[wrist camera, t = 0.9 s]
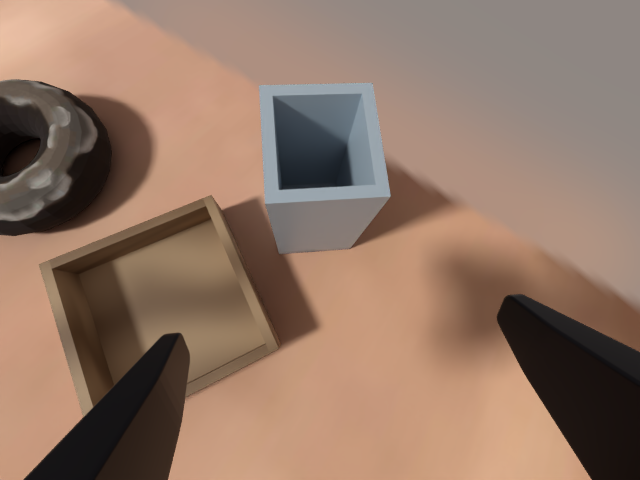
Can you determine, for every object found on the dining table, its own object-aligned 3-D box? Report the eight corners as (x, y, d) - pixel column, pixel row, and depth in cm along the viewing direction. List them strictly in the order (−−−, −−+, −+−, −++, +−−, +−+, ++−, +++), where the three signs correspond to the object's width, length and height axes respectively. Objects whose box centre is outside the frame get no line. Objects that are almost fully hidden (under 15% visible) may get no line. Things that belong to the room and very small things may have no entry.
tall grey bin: (349, 248, 23) (390, 196, 13) (279, 254, 23) (265, 203, 13) (341, 178, 25) (372, 82, 15) (274, 182, 24) (259, 85, 14)
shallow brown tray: (281, 344, 21) (278, 348, 18) (121, 426, 19) (92, 445, 16) (221, 209, 23) (211, 195, 21) (72, 271, 21) (38, 264, 19)
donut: (78, 82, 25) (39, 40, 22) (150, 185, 24) (121, 159, 20) (-67, 152, 23) (-140, 119, 19) (1, 273, 21) (-66, 264, 17)
